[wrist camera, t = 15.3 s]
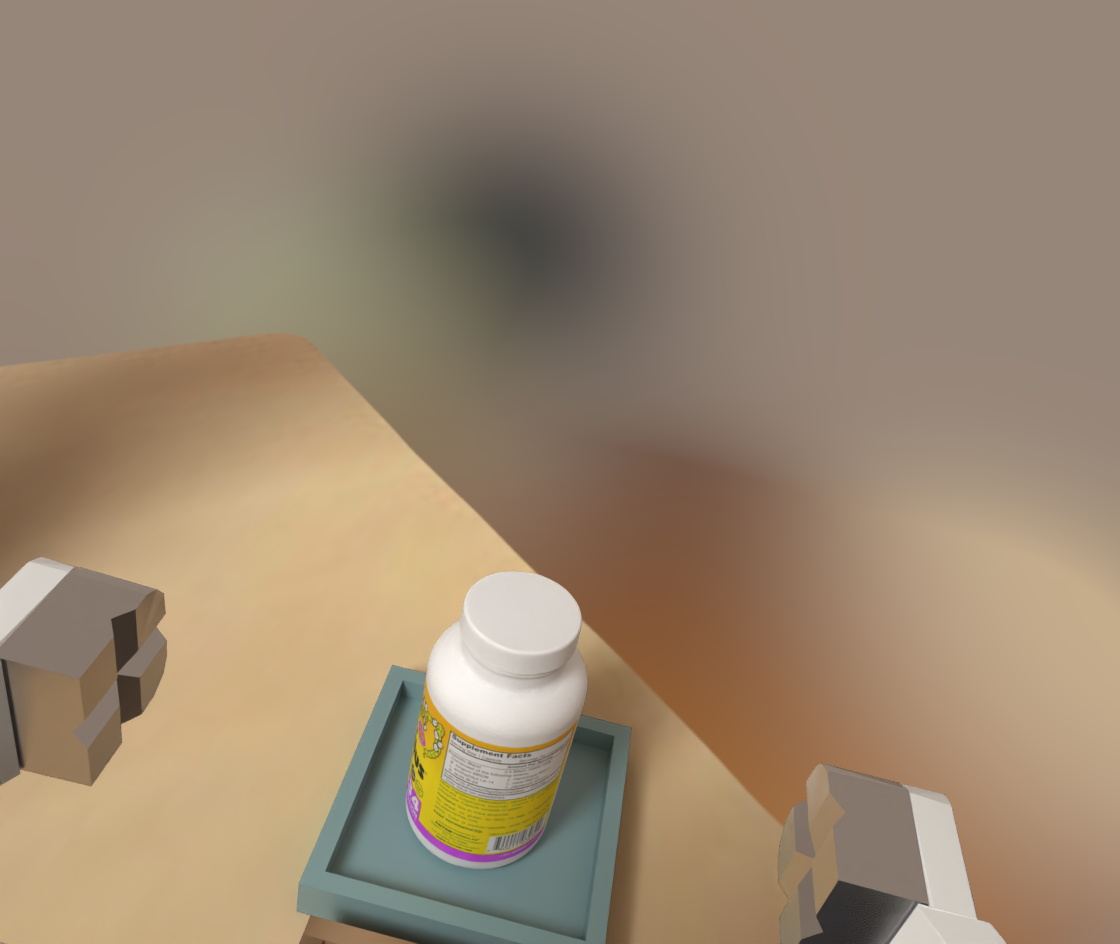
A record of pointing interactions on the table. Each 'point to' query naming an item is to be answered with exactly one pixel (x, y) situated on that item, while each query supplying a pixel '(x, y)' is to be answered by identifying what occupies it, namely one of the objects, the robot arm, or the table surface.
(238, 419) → the table surface
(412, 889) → the tray
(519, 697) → the supplement bottle
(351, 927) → the brown wooden tray
